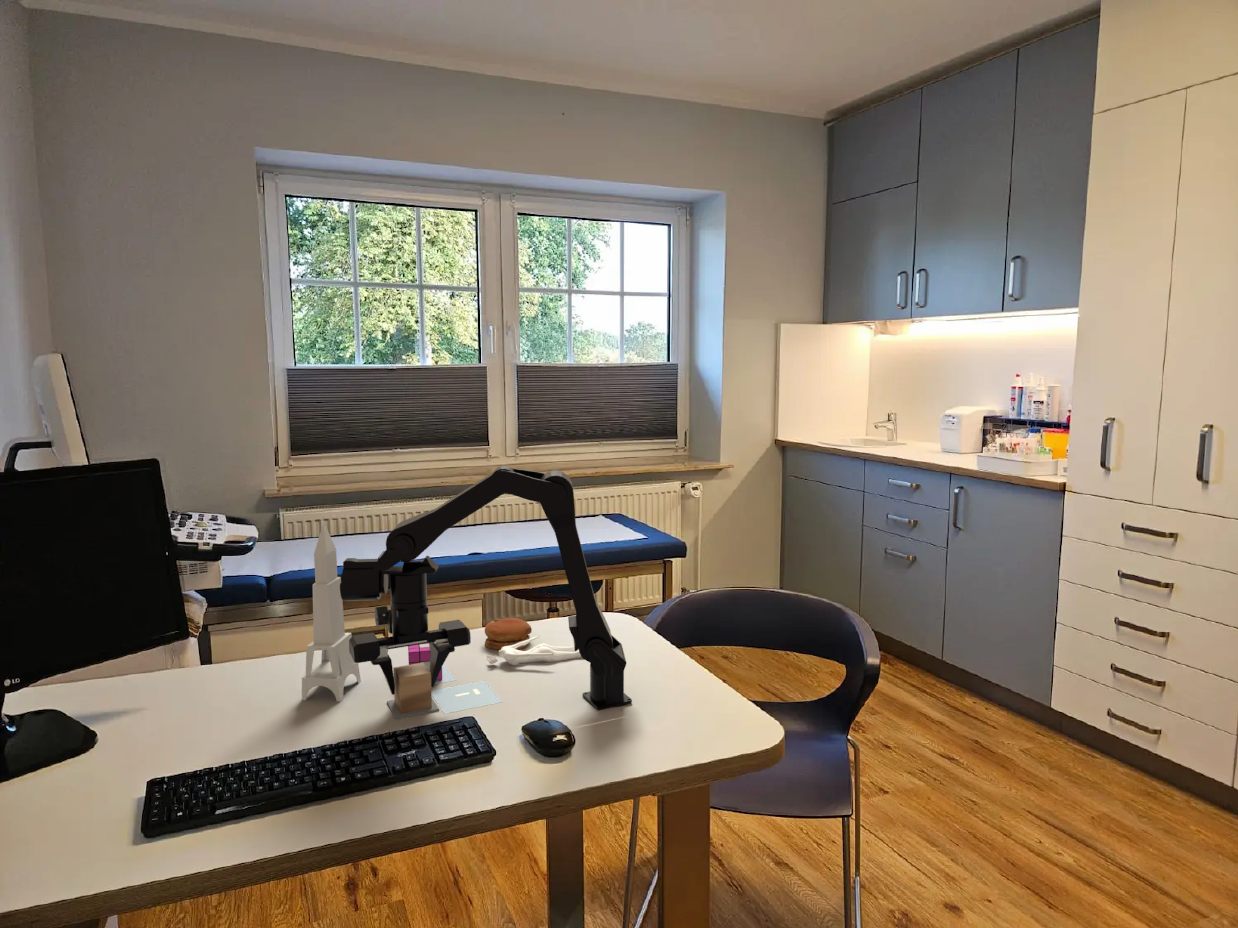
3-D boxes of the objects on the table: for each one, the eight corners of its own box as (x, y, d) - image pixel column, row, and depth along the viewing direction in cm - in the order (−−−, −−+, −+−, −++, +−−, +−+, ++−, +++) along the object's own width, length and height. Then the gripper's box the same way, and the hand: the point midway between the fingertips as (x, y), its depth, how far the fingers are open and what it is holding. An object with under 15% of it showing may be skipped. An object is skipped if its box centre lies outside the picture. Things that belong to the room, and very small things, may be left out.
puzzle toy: (409, 683, 144) (408, 652, 143) (409, 671, 149) (407, 641, 148) (442, 679, 145) (441, 649, 145) (440, 668, 151) (439, 638, 150)
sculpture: (361, 681, 145) (353, 517, 141) (340, 701, 137) (332, 527, 133) (324, 680, 145) (315, 516, 141) (301, 699, 137) (292, 526, 133)
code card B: (456, 680, 145) (456, 679, 145) (405, 689, 141) (405, 689, 141) (443, 663, 153) (443, 662, 153) (395, 671, 149) (395, 671, 149)
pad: (439, 711, 133) (439, 708, 133) (395, 719, 130) (395, 717, 130) (428, 695, 139) (428, 692, 139) (387, 703, 136) (387, 700, 136)
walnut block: (431, 707, 133) (430, 672, 133) (401, 713, 131) (399, 678, 130) (424, 696, 138) (423, 662, 137) (394, 701, 136) (393, 667, 135)
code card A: (503, 702, 136) (503, 701, 136) (444, 714, 132) (444, 713, 132) (485, 681, 145) (485, 680, 145) (429, 691, 141) (429, 690, 141)
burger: (524, 653, 159) (524, 630, 158) (478, 651, 160) (477, 628, 159) (536, 636, 169) (535, 614, 168) (492, 634, 170) (492, 613, 169)
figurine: (603, 650, 166) (481, 655, 157) (604, 633, 165) (483, 637, 157) (621, 669, 156) (492, 675, 147) (622, 650, 156) (494, 656, 147)
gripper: (452, 579, 143) (454, 663, 145) (341, 593, 135) (346, 682, 137) (470, 595, 133) (472, 686, 136) (352, 612, 125) (357, 708, 127)
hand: (412, 689), depth 134 cm, fingers open, 6 cm apart
